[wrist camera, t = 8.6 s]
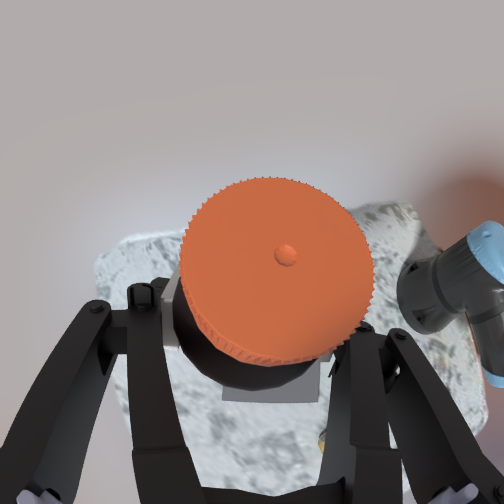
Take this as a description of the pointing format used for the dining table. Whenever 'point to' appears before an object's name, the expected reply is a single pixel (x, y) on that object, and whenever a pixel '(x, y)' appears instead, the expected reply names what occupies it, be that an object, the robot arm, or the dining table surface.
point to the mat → (281, 390)
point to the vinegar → (269, 282)
